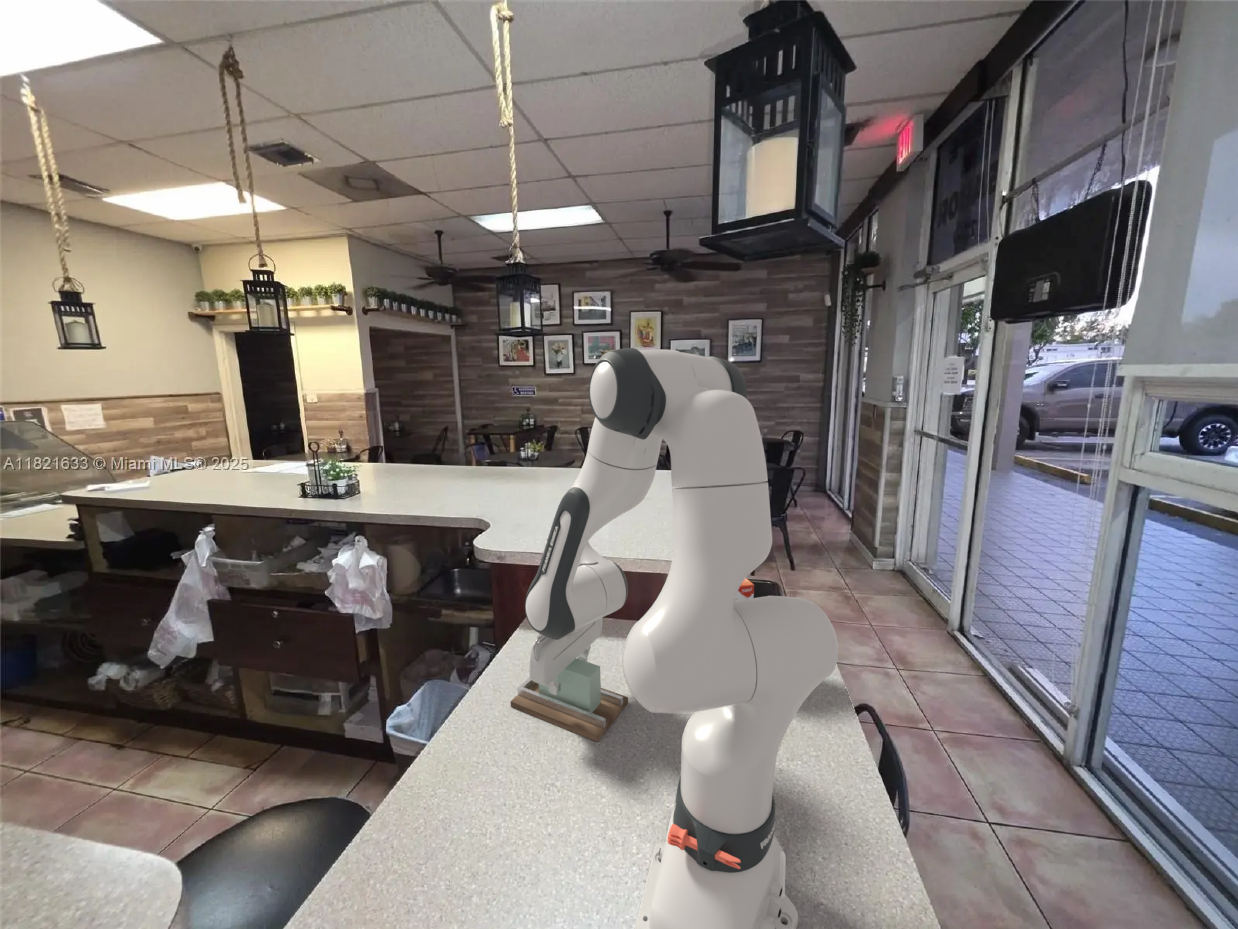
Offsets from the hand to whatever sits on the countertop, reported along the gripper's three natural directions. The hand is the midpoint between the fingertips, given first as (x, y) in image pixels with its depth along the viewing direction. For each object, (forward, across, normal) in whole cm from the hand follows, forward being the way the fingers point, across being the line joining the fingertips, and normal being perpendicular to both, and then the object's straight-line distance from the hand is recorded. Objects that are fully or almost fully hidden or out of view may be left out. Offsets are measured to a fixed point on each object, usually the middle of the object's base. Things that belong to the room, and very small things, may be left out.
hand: (569, 678), depth 97 cm
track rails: (+5, 0, 0) cm, 5 cm away
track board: (+6, 0, 0) cm, 6 cm away
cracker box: (+6, +25, -22) cm, 34 cm away
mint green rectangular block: (+5, 0, 0) cm, 5 cm away
